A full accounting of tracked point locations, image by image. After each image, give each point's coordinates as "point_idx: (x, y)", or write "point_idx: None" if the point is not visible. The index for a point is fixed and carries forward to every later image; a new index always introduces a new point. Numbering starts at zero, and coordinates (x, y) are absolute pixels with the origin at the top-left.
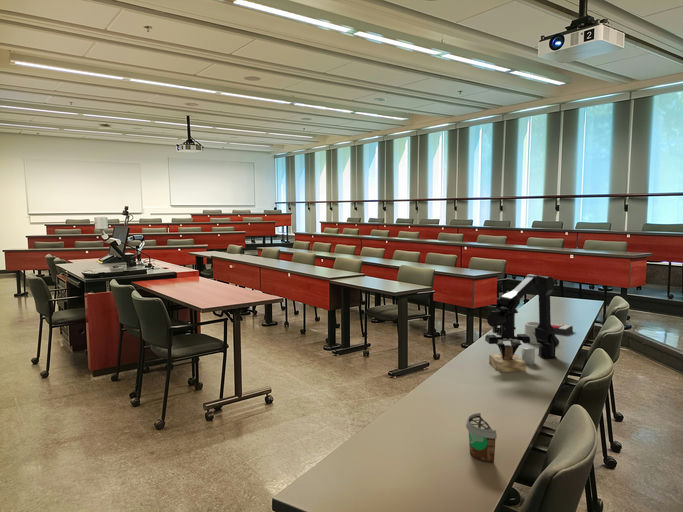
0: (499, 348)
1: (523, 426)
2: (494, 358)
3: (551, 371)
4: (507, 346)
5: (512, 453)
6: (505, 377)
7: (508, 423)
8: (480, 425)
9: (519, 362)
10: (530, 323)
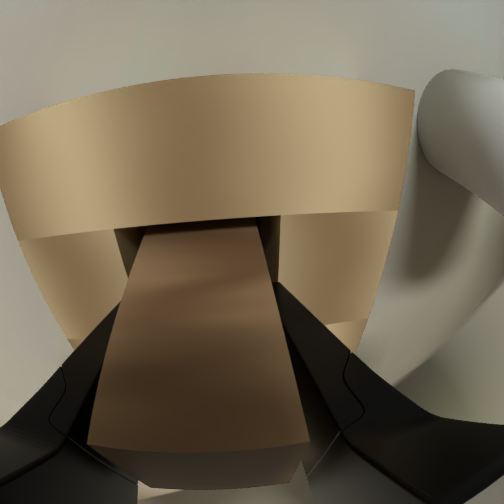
0: (52, 401)
1: (162, 488)
2: (45, 286)
3: (458, 298)
4: (206, 477)
5: (141, 496)
6: None
7: (139, 485)
8: None
9: None
10: None
